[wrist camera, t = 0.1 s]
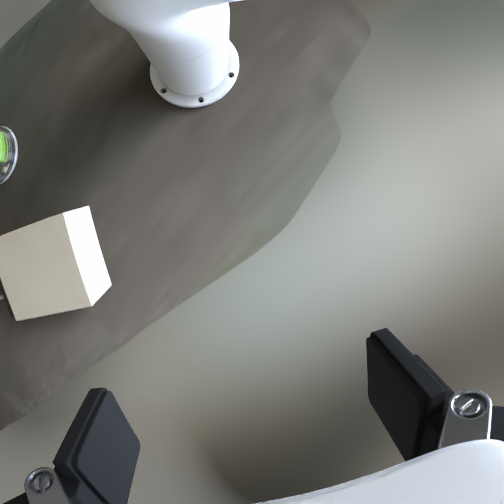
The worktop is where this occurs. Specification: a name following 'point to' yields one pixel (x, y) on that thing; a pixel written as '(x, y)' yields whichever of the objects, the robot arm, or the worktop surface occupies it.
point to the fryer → (53, 265)
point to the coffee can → (7, 153)
